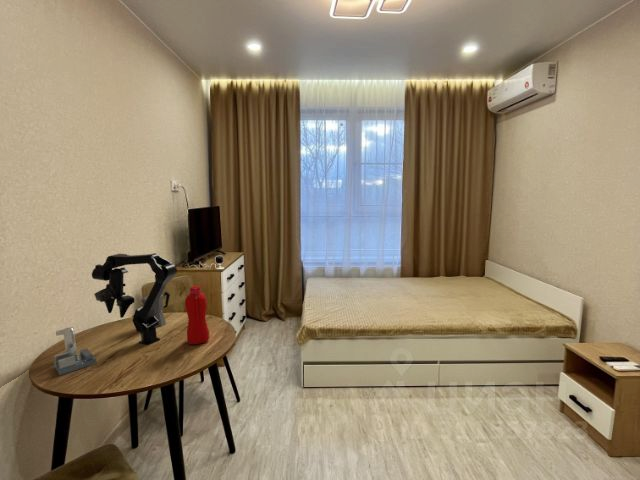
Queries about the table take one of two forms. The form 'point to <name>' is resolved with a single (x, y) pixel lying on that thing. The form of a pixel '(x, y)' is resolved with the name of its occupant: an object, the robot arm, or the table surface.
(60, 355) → the vise
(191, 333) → the water bottle
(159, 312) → the coffeepot
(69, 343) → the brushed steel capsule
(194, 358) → the table surface
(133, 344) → the table surface
